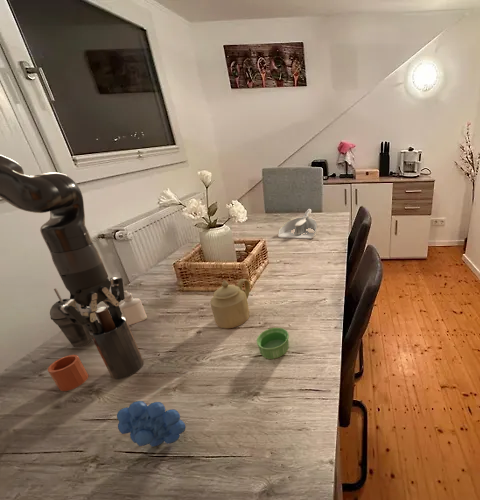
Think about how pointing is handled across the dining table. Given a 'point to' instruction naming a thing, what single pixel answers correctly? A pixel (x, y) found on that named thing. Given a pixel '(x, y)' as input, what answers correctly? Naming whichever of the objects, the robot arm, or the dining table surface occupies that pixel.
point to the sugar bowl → (231, 304)
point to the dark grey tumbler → (119, 350)
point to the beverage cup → (70, 324)
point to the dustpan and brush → (299, 227)
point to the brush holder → (68, 372)
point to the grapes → (150, 423)
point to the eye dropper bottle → (132, 309)
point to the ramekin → (273, 342)
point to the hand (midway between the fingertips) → (107, 325)
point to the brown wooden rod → (105, 319)
